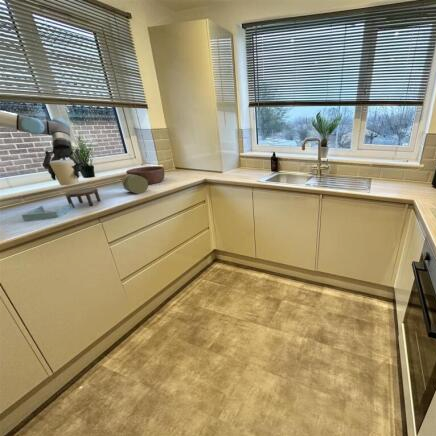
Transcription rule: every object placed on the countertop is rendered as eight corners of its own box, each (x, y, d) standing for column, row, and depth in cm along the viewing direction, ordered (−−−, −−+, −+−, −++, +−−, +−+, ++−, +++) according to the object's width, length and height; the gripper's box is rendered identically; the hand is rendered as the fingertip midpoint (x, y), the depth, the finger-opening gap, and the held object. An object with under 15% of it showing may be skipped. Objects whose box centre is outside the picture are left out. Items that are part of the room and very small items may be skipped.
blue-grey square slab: (24, 220, 114) (21, 215, 113) (43, 211, 126) (40, 206, 125) (58, 217, 117) (55, 211, 116) (73, 208, 129) (71, 203, 128)
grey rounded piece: (141, 188, 166) (137, 172, 162) (149, 191, 159) (145, 174, 155) (123, 192, 157) (118, 175, 153) (131, 195, 151) (126, 177, 147)
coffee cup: (83, 182, 129) (75, 160, 124) (61, 186, 122) (52, 162, 117) (77, 180, 133) (69, 158, 129) (55, 184, 126) (46, 161, 122)
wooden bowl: (169, 182, 181) (166, 169, 177) (130, 188, 168) (126, 173, 164) (164, 177, 200) (161, 165, 196) (129, 181, 187) (125, 168, 184)
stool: (64, 209, 128) (58, 195, 125) (78, 202, 140) (73, 188, 137) (94, 206, 131) (89, 192, 128) (105, 199, 144) (101, 186, 141)
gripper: (89, 146, 138) (94, 178, 132) (39, 149, 129) (41, 184, 122) (84, 137, 132) (88, 170, 125) (31, 139, 122) (33, 175, 115)
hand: (65, 177), depth 123 cm, fingers closed on coffee cup, 9 cm apart
